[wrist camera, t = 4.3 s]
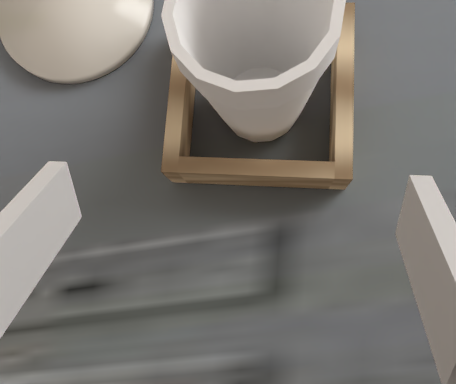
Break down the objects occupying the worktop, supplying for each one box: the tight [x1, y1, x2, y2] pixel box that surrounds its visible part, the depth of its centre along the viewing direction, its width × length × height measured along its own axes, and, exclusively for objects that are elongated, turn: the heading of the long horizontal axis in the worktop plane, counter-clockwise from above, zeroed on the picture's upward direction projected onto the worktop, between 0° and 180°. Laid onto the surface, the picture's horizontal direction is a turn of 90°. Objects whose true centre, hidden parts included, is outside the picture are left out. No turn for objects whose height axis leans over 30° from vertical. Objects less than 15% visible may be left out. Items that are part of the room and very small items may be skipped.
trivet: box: [0, 0, 154, 84], centre depth 38 cm, size 14×14×1 cm
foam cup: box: [161, 0, 346, 142], centre depth 28 cm, size 10×9×13 cm
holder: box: [161, 3, 355, 190], centre depth 33 cm, size 13×13×4 cm
